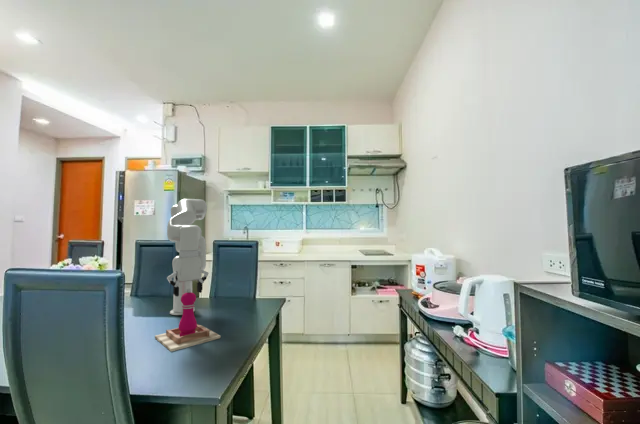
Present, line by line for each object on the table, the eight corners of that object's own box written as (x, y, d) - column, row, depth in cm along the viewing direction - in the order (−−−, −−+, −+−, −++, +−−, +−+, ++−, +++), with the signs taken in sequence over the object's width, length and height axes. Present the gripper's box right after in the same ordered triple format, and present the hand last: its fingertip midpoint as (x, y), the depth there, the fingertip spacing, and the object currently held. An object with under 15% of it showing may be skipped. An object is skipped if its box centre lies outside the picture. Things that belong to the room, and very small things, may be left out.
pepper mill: (190, 340, 124) (191, 290, 125) (174, 338, 126) (175, 290, 127) (200, 334, 131) (201, 287, 132) (185, 333, 133) (186, 286, 134)
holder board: (154, 337, 130) (154, 330, 130) (201, 327, 144) (201, 320, 144) (170, 351, 115) (171, 343, 116) (220, 338, 129) (220, 330, 129)
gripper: (204, 252, 140) (204, 289, 140) (164, 255, 128) (163, 295, 128) (212, 253, 135) (211, 292, 134) (170, 256, 123) (169, 299, 122)
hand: (188, 293), depth 131 cm, fingers open, 9 cm apart
